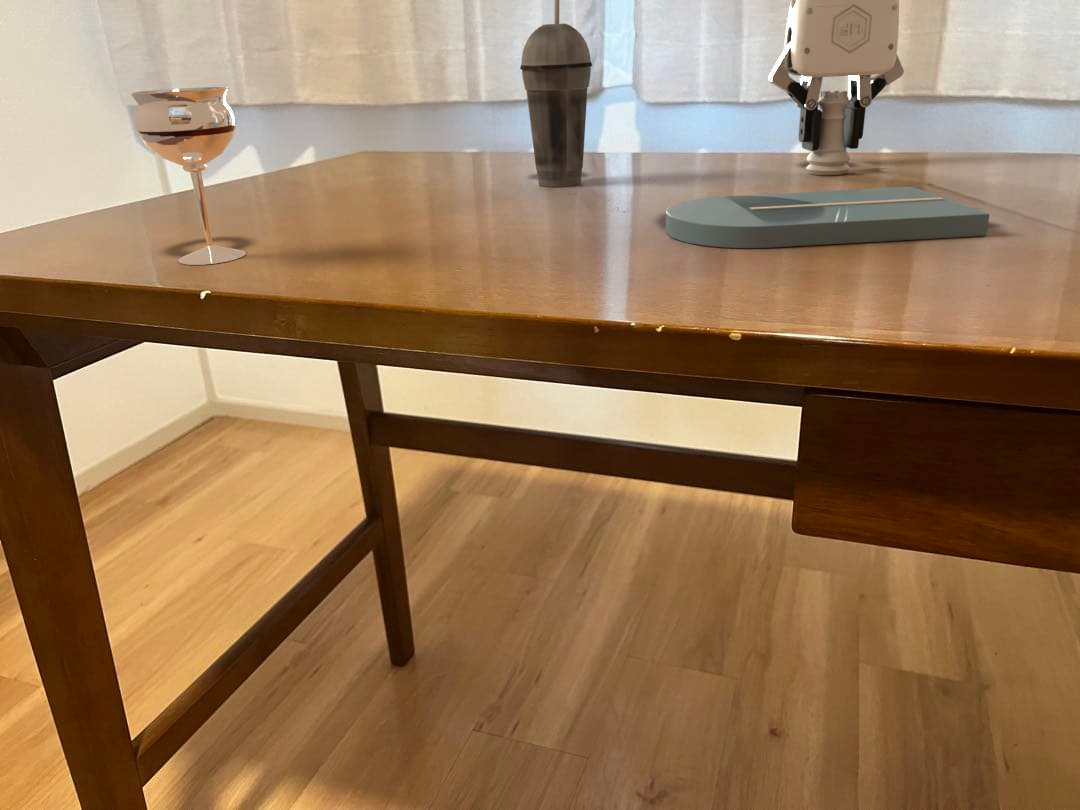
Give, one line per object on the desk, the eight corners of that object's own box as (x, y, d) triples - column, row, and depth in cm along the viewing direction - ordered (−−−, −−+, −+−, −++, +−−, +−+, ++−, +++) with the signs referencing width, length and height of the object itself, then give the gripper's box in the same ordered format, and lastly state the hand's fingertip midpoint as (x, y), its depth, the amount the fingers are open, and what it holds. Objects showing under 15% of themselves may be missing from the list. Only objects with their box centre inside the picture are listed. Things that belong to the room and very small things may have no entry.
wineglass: (198, 245, 69) (166, 88, 65) (274, 246, 68) (247, 85, 63) (145, 267, 63) (106, 95, 58) (227, 268, 62) (194, 92, 57)
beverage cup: (515, 188, 89) (504, -27, 81) (538, 177, 95) (530, -24, 87) (583, 189, 86) (578, -32, 78) (602, 178, 93) (599, -29, 85)
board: (909, 205, 73) (912, 185, 72) (986, 236, 62) (990, 212, 61) (652, 219, 72) (653, 199, 71) (684, 252, 61) (684, 228, 60)
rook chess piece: (798, 170, 92) (804, 91, 89) (839, 168, 92) (846, 89, 89) (814, 176, 88) (821, 94, 85) (856, 174, 88) (865, 91, 85)
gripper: (774, -51, 78) (761, 157, 85) (951, -59, 79) (924, 148, 86) (750, -44, 85) (740, 148, 92) (913, -51, 85) (891, 140, 93)
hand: (829, 146), depth 89 cm, fingers closed on rook chess piece, 3 cm apart
